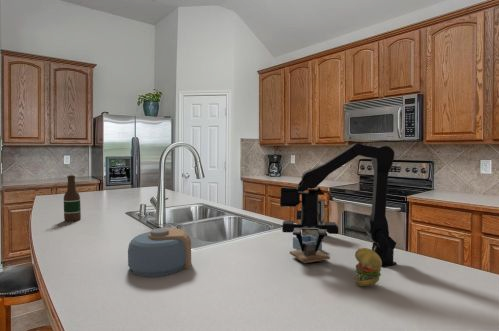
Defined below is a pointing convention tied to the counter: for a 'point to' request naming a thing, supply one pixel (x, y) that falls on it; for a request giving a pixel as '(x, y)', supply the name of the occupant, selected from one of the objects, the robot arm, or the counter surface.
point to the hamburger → (367, 267)
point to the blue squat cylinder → (159, 252)
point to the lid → (309, 253)
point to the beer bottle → (72, 202)
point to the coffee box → (320, 218)
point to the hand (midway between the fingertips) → (309, 251)
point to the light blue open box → (305, 240)
